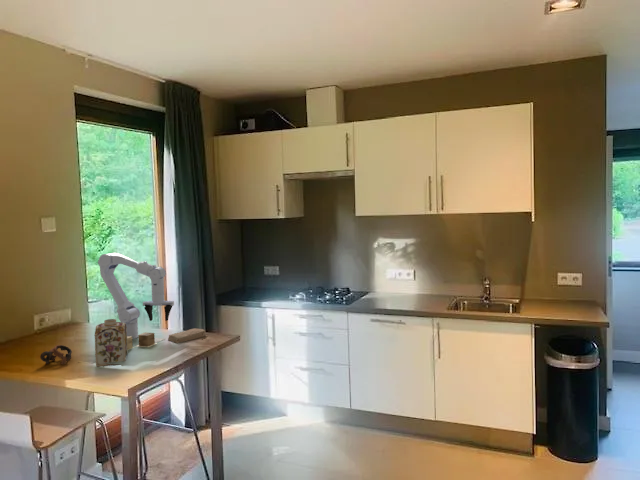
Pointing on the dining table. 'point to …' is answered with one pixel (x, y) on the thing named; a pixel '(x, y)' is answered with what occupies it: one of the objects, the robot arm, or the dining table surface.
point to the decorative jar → (110, 342)
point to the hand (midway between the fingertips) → (158, 320)
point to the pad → (158, 339)
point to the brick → (186, 335)
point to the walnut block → (146, 339)
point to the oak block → (129, 342)
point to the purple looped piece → (56, 354)
